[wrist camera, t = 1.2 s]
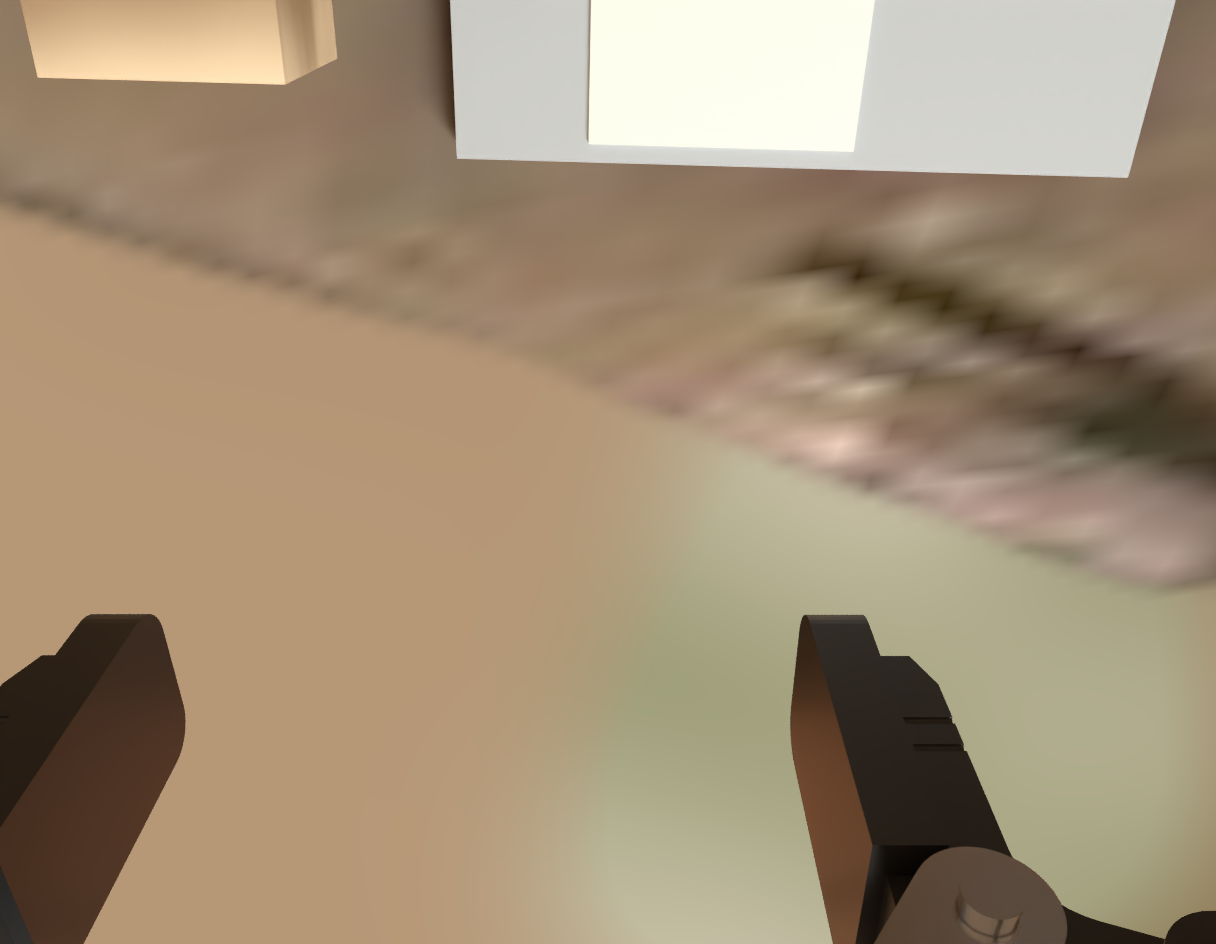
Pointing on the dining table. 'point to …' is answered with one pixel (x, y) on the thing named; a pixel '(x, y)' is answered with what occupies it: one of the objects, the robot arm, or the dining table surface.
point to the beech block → (180, 39)
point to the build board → (809, 83)
